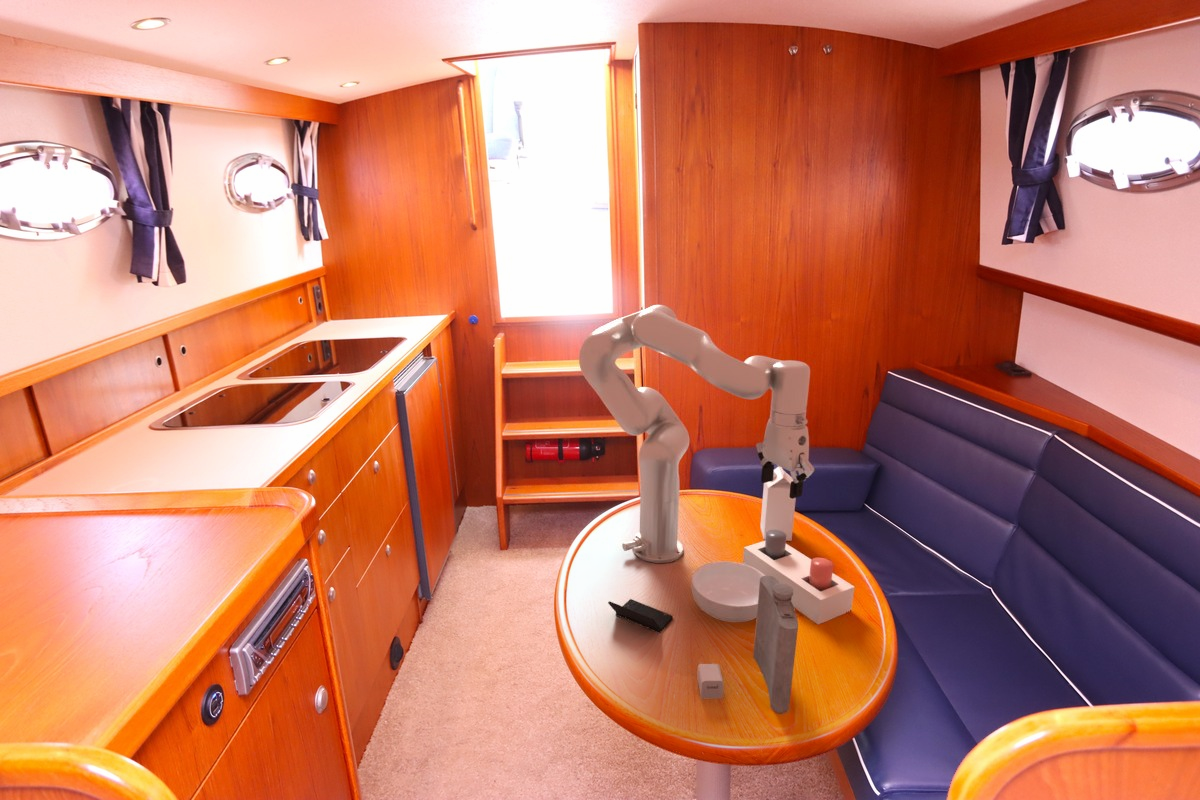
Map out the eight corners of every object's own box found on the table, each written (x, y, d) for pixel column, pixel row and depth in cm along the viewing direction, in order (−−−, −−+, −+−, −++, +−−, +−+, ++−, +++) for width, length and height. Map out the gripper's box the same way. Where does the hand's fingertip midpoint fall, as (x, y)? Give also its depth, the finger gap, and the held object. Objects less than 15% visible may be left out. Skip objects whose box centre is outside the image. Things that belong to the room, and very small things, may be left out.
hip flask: (751, 652, 130) (759, 563, 124) (772, 652, 130) (780, 563, 124) (773, 713, 115) (782, 616, 109) (796, 713, 115) (807, 616, 109)
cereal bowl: (682, 623, 138) (683, 594, 136) (698, 581, 153) (700, 555, 151) (764, 642, 133) (767, 612, 131) (773, 596, 148) (776, 569, 146)
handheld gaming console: (676, 607, 141) (662, 589, 134) (669, 640, 138) (654, 624, 130) (627, 599, 147) (611, 582, 139) (619, 632, 143) (602, 615, 136)
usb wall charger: (700, 698, 118) (701, 680, 117) (695, 672, 125) (696, 654, 123) (722, 698, 118) (724, 680, 117) (716, 672, 125) (717, 654, 124)
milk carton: (786, 528, 177) (793, 463, 172) (791, 541, 171) (798, 474, 165) (760, 526, 178) (765, 462, 172) (763, 540, 171) (769, 473, 166)
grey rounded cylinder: (773, 562, 152) (775, 541, 150) (760, 553, 156) (761, 532, 154) (788, 557, 154) (790, 536, 152) (774, 548, 158) (776, 528, 156)
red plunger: (819, 593, 140) (822, 571, 138) (803, 583, 144) (806, 561, 142) (835, 587, 142) (838, 565, 141) (819, 577, 146) (821, 555, 144)
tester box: (817, 624, 138) (820, 600, 136) (742, 569, 158) (743, 547, 156) (851, 610, 143) (854, 586, 141) (773, 558, 163) (775, 537, 161)
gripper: (830, 426, 139) (821, 500, 144) (772, 403, 153) (766, 472, 159) (804, 432, 135) (796, 508, 141) (747, 408, 150) (742, 478, 155)
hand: (780, 488), depth 150 cm, fingers open, 8 cm apart
